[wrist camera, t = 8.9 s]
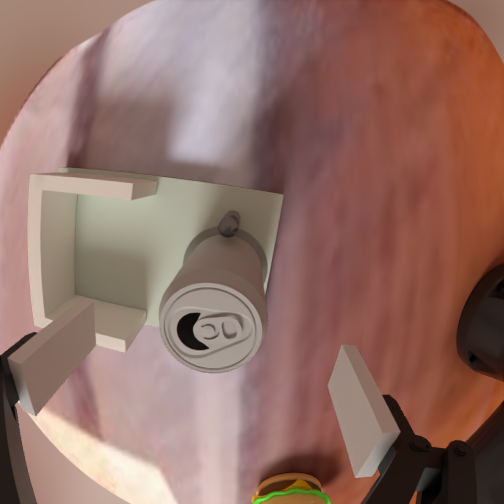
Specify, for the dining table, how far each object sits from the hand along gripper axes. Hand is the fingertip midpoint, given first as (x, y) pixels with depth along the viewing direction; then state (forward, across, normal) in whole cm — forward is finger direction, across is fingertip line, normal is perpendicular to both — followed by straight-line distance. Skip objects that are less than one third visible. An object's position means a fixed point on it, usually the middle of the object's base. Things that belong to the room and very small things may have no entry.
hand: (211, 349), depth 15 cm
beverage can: (+14, +1, 0) cm, 14 cm away
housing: (+13, +13, 0) cm, 18 cm away
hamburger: (+16, -13, +35) cm, 40 cm away
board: (+15, +8, 0) cm, 17 cm away
